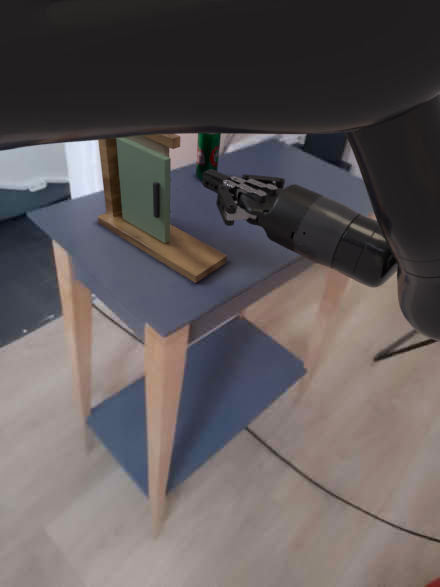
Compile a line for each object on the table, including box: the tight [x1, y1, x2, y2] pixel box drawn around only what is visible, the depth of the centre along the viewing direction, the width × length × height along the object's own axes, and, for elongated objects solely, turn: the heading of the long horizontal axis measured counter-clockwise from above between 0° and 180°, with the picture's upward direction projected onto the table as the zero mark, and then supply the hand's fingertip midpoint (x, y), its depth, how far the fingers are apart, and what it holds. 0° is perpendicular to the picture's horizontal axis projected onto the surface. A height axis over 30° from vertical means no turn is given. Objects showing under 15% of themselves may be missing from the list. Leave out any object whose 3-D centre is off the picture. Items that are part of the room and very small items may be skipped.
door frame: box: [97, 134, 228, 284], centre depth 64 cm, size 8×25×19 cm, turn 51°
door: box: [116, 138, 172, 243], centre depth 65 cm, size 2×11×15 cm, turn 51°
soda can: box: [195, 133, 222, 181], centre depth 89 cm, size 5×5×12 cm
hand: (205, 177), depth 55 cm, fingers closed
